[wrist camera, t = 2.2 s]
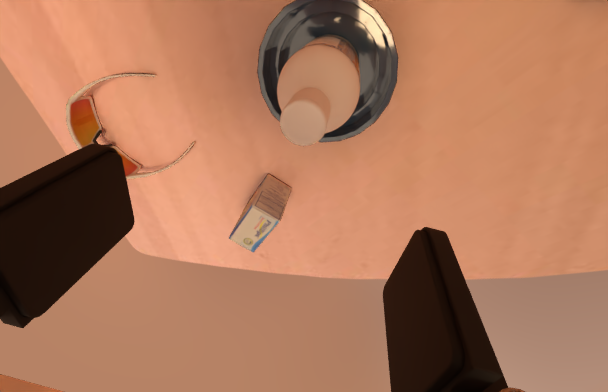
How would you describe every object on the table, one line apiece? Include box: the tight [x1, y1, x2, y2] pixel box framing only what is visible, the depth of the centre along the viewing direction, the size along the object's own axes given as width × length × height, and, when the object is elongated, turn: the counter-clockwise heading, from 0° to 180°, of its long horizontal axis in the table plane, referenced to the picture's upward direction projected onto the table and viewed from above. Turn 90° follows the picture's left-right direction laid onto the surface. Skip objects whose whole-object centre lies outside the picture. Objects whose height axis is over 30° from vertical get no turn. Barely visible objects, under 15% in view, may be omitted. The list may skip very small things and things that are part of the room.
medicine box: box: [229, 174, 291, 252], centre depth 42 cm, size 8×4×9 cm, turn 146°
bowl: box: [257, 0, 398, 142], centre depth 31 cm, size 14×14×6 cm
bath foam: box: [277, 34, 360, 146], centre depth 25 cm, size 7×7×20 cm
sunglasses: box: [66, 73, 195, 179], centre depth 41 cm, size 14×15×5 cm
